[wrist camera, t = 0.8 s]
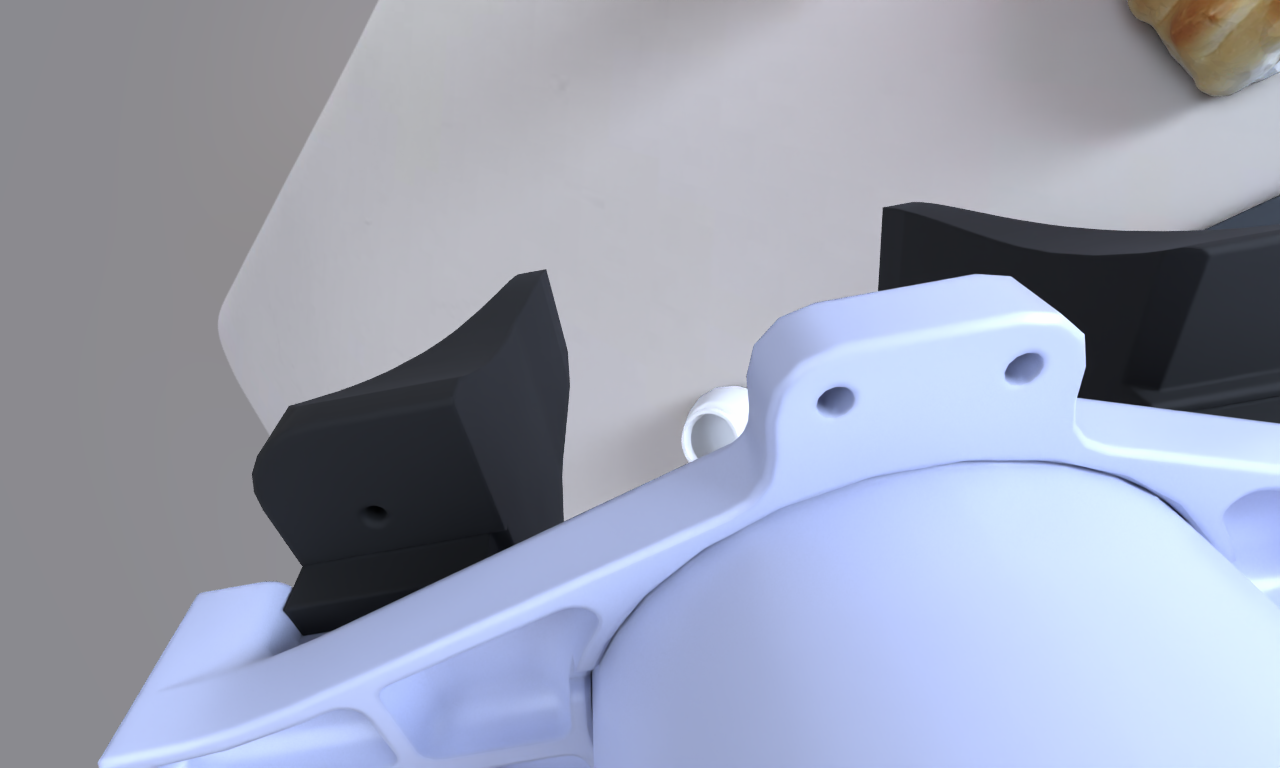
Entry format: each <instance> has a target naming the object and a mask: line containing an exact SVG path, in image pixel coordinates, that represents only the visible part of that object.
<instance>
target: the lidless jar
mask: <svg viewBox="0 0 1280 768" xmlns="http://www.w3.org/2000/svg"><path fill="white" fill-rule="evenodd" d="M748 413H749V401H748V389H746V388H743V387H740V386H727V387H716V388H714V389H713V390H711V391H709V392H707V393H706V394H704V395H702V396H701V397H700V398H699V399H698V401H697V402H696V403H695V405H694V406H693V407H692V409H691V410H690V412H689V414H688V417H687V419H686V423H685V426H684V428H683V431H682V448H683V452H684V454H685V456H686V458H687V460H688V461H689V462H692V461H694V460H696V459H698V458H700V457H702V456H705V455H707V454H709V453H711V452H713V451H715V450H717V449H719V448H722V447H724V446H726V445H728V444H730V443H732V442H733V441H735V440H736V439H737V438H738V437H739V436H740V435H741V434H742V433H743V431H744V430H745V427H746V425H747V422H748Z"/></svg>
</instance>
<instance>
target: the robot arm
mask: <svg viewBox="0 0 1280 768" xmlns="http://www.w3.org/2000/svg"><path fill="white" fill-rule="evenodd" d="M747 388H748V401H749V413H748V422H747V425H746V427H745V430H744V431H743V433H742V434H741V435H740V436H739V437H738V438H737V439H736V440H735V441H733V442H732V443H730V444H728V445H726V446H724V447H722V448H719V449H717V450H715V451H713V452H711V453H709V454H707V455H705V456H702V457H700V458H698V459H696V460H694V461H692V462H690V463H688V464H685V465H683V466H681V467H679V468H677V469H675V470H673V471H671V472H668V473H666V474H664V475H662V476H660V477H658V478H656V479H654V480H651V481H649V482H647V483H645V484H643V485H641V486H639V487H637V488H634V489H632V490H630V491H628V492H626V493H624V494H622V495H620V496H617V497H615V498H613V499H611V500H609V501H607V502H605V503H603V504H600V505H598V506H596V507H594V508H592V509H590V510H588V511H586V512H583V513H581V514H579V515H577V516H575V517H573V518H571V519H569V520H566V521H564V516H563V486H562V470H563V454H564V444H565V433H566V423H567V412H568V401H569V389H570V380H569V364H568V351H567V347H566V343H565V339H564V335H563V332H562V328H561V324H560V320H559V316H558V313H557V309H556V305H555V301H554V297H553V294H552V290H551V286H550V282H549V278H548V275H547V271H546V269H545V270H540V271H534V272H529V273H523V274H518V275H517V276H515V277H514V278H512V279H511V280H510V281H509V282H508V283H507V284H506V285H505V286H504V287H503V288H502V289H501V290H500V291H499V292H498V293H497V294H496V295H495V296H494V297H493V298H492V299H491V300H490V301H489V302H488V303H486V304H485V305H484V306H483V307H482V308H481V309H480V310H479V311H478V312H477V313H476V314H474V315H473V316H472V317H471V318H470V319H469V320H467V321H466V322H465V323H464V324H463V325H462V326H460V327H459V328H458V329H457V330H456V331H454V332H453V333H452V334H450V335H449V336H448V337H446V338H445V339H443V340H442V341H441V342H439V343H437V344H436V345H434V346H433V347H431V348H430V349H428V350H427V351H425V352H424V353H422V354H420V355H418V356H416V357H414V358H413V359H411V360H409V361H407V362H405V363H403V364H401V365H399V366H398V367H396V368H394V369H392V370H390V371H388V372H386V373H383V374H381V375H379V376H377V377H374V378H372V379H370V380H367V381H365V382H362V383H359V384H357V385H354V386H352V387H349V388H346V389H344V390H341V391H338V392H335V393H331V394H328V395H325V396H322V397H318V398H315V399H312V400H308V401H305V402H302V403H298V404H295V405H291V406H289V407H288V409H287V410H286V412H285V413H284V415H283V416H282V418H281V420H280V421H279V423H278V424H277V426H276V427H275V429H274V431H273V432H272V434H271V435H270V437H269V439H268V440H267V442H266V443H265V445H264V446H263V448H262V449H261V451H260V453H259V454H258V456H257V459H256V462H255V465H254V469H253V472H252V478H253V486H254V493H255V495H256V497H257V499H258V501H259V503H260V505H261V507H262V508H263V511H264V512H265V513H266V515H267V516H268V518H269V519H270V520H271V522H272V523H273V525H274V526H275V528H276V529H277V531H278V532H279V533H280V535H281V536H282V538H283V539H284V541H285V542H286V544H287V545H288V546H289V548H290V549H291V551H292V552H293V554H294V555H295V556H296V558H297V559H298V561H299V562H300V564H301V565H302V566H303V567H302V569H301V571H300V574H299V576H298V578H297V580H296V582H295V585H294V587H293V588H292V587H291V586H290V585H287V584H284V583H281V582H277V581H270V582H269V581H268V582H267V581H266V582H260V583H254V584H248V585H243V586H237V587H231V588H225V589H220V590H214V591H208V592H202V593H199V594H198V595H197V597H196V598H195V600H194V602H193V603H192V605H191V607H190V608H189V610H188V612H187V613H186V615H185V617H184V618H183V620H182V622H181V623H180V625H179V627H178V628H177V630H176V632H175V634H174V635H173V637H172V639H171V640H170V642H169V644H168V645H167V647H166V649H165V650H164V652H163V654H162V655H161V657H160V659H159V661H158V662H157V664H156V666H155V667H154V669H153V670H152V672H151V674H150V675H149V677H148V679H147V681H146V683H145V684H144V686H143V687H142V689H141V691H140V692H139V694H138V696H137V697H136V699H135V701H134V702H133V704H132V706H131V707H130V709H129V711H128V712H127V714H126V716H125V718H124V719H123V721H122V723H121V724H120V726H119V728H118V729H117V731H116V733H115V735H114V736H113V738H112V740H111V741H110V743H109V745H108V746H107V748H106V749H105V751H104V753H103V754H102V756H101V758H100V760H99V761H98V766H99V768H1280V224H1277V225H1268V226H1258V227H1249V228H1235V229H1217V230H1198V231H1116V230H1098V229H1086V228H1075V227H1064V226H1056V225H1048V224H1041V223H1035V222H1029V221H1022V220H1016V219H1011V218H1005V217H1000V216H995V215H990V214H985V213H980V212H975V211H970V210H965V209H960V208H955V207H950V206H945V205H939V204H933V203H923V202H911V203H906V204H900V205H895V206H889V207H884V208H883V216H882V233H881V251H880V268H879V285H878V292H872V293H867V294H861V295H856V296H850V297H845V298H839V299H834V300H828V301H823V302H817V303H813V304H811V305H809V306H806V307H804V308H801V309H799V310H797V311H794V312H792V313H789V314H787V315H785V316H782V317H780V318H778V319H777V320H776V321H775V323H774V324H773V325H772V326H771V327H770V328H769V329H768V330H767V331H766V332H765V334H764V335H763V336H762V337H761V338H760V339H759V340H758V341H757V342H756V343H755V345H754V346H753V351H752V355H751V359H750V364H749V368H748V372H747Z"/></svg>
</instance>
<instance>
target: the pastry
mask: <svg viewBox="0 0 1280 768" xmlns="http://www.w3.org/2000/svg"><path fill="white" fill-rule="evenodd" d="M1127 1H1128V6H1129V8H1130V10H1131V12H1132V13H1133V15H1134V16H1135V17H1136V18H1137V19H1139V20H1141V21H1143V22H1145V23H1148V24H1150V25H1151V26H1153V28H1154V29H1155V30H1156V32H1157V33H1158V34H1159V36H1160V39H1161V40H1162V41H1163V43H1164V45H1165V46H1166V47H1167V49H1168V51H1169V53H1170V55H1171V56H1172V57H1173V58H1174V59H1175V60H1176V61H1177V62H1178V63H1179V64H1181V65H1182V67H1183V68H1184V70H1185V71H1186V72H1187V73H1188V74H1189V75H1190V76H1191V77H1192V78H1193V79H1194V82H1195V84H1196V87H1197V88H1198V89H1199V90H1200V91H1202V92H1204V93H1206V94H1208V95H1210V96H1227V95H1232V94H1234V93H1236V92H1238V91H1240V90H1241V89H1243V88H1244V87H1246V86H1247V85H1250V84H1252V83H1255V82H1258V81H1261V80H1264V79H1266V78H1268V77H1270V76H1272V75H1274V74H1276V73H1278V72H1280V0H1127Z"/></svg>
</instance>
